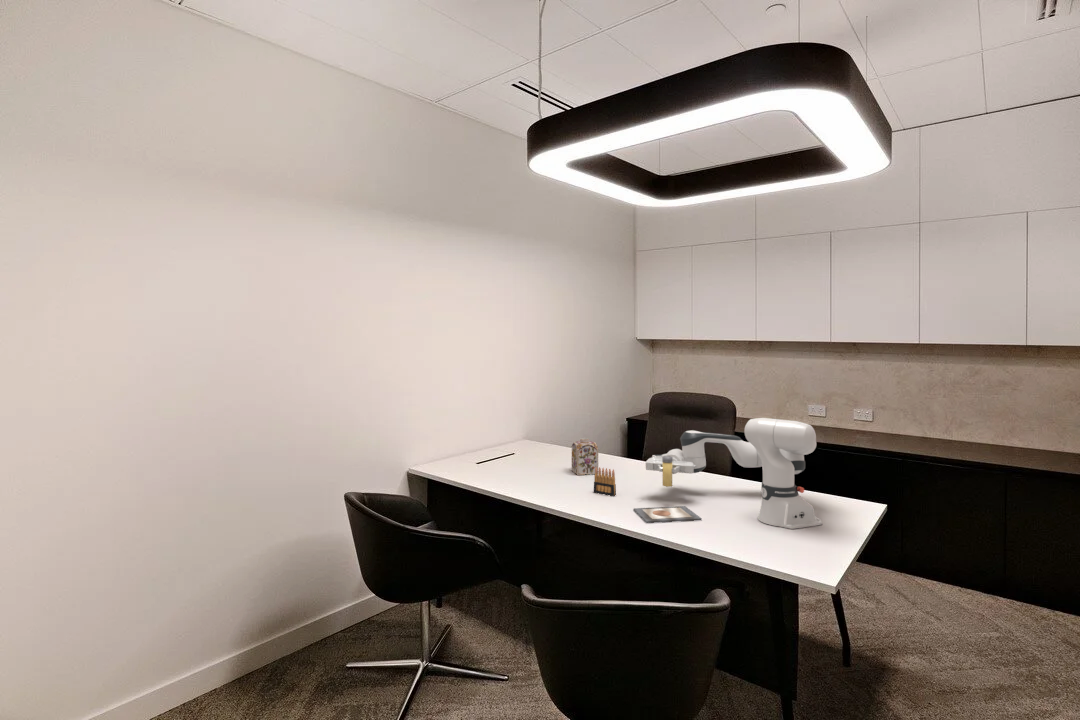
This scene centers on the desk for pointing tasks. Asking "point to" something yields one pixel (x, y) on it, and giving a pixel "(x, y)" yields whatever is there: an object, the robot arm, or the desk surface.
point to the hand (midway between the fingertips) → (667, 470)
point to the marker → (667, 470)
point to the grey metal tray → (666, 514)
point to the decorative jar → (584, 457)
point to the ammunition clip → (604, 482)
